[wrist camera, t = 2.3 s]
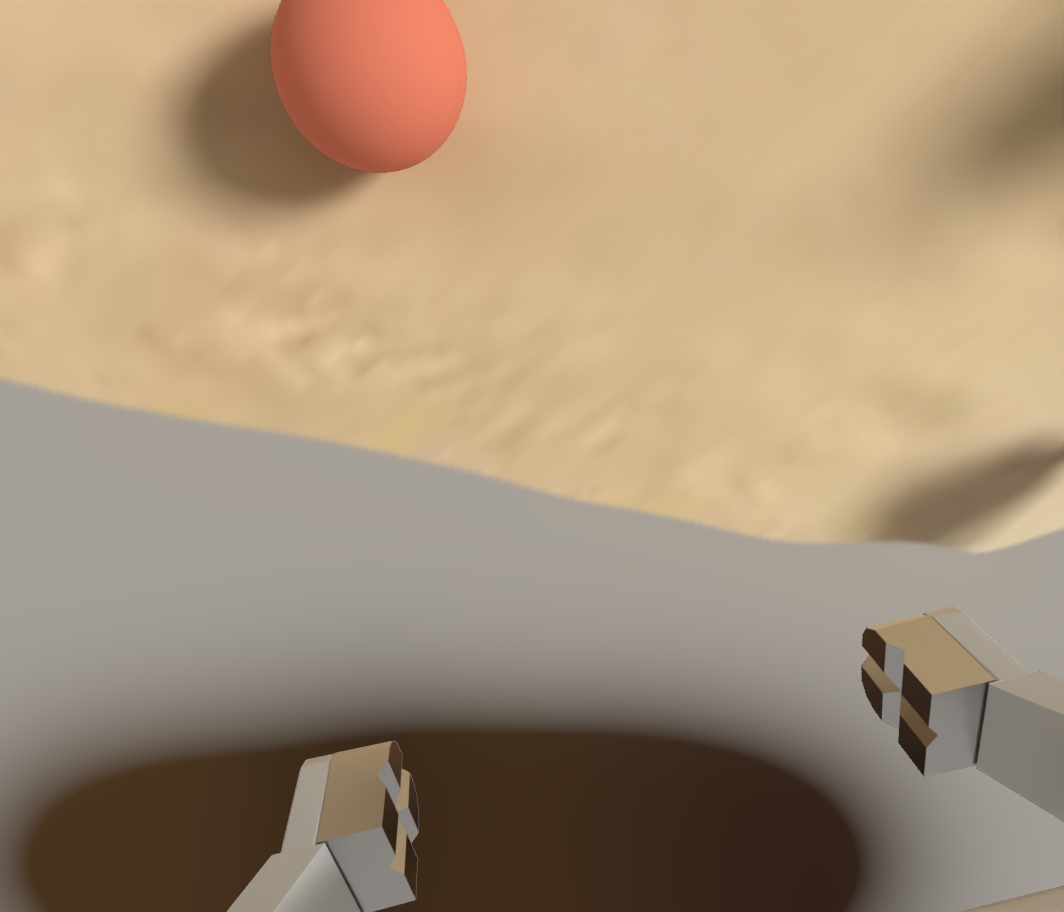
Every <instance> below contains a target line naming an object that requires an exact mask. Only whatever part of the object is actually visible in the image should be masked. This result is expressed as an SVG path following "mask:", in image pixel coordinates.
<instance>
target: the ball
mask: <svg viewBox="0 0 1064 912" xmlns="http://www.w3.org/2000/svg"><path fill="white" fill-rule="evenodd" d="M271 64H272V71H273V76H274V80H275V84H276V88H277V91H278V93H279V96H280V99H281V101H282V104H283V105H284V107H285V109H286V111H287V113H288V115H289V117H290V118H291V120H292V121H293V123H294V124H295V126H296V127H297V129H298V130H299V131H300V132H301V133H302V135H303V136H304V137H305V138H306V139H307V140H308V141H309V142H310V143H311V144H312V145H313V146H314V147H315V148H316V149H318V150H319V151H320V152H322V153H323V154H324V155H326V156H327V157H329V158H331V159H332V160H334V161H336V162H337V163H340V164H342V165H344V166H347V167H349V168H353V169H356V170H360V171H365V172H372V173H387V172H394V171H399V170H403V169H406V168H410V167H412V166H414V165H416V164H418V163H420V162H422V161H423V160H425V159H427V158H428V157H430V156H431V155H432V154H433V153H434V152H435V151H437V150H438V149H439V148H440V146H441V145H442V144H443V143H444V142H445V141H446V139H447V138H448V136H449V135H450V133H451V132H452V130H453V129H454V127H455V125H456V122H457V120H458V118H459V115H460V112H461V110H462V107H463V102H464V97H465V92H466V80H467V76H466V60H465V53H464V49H463V45H462V41H461V37H460V34H459V32H458V29H457V26H456V24H455V22H454V20H453V18H452V16H451V14H450V12H449V10H448V9H447V7H446V6H445V4H444V3H443V1H442V0H282V1H281V3H280V5H279V8H278V10H277V13H276V16H275V20H274V24H273V28H272V35H271Z"/></svg>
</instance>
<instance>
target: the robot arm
mask: <svg viewBox="0 0 1064 912" xmlns="http://www.w3.org/2000/svg"><path fill="white" fill-rule="evenodd" d="M862 637H863V638H862V646H863V647H864V649H865V650H866V651H867V652H868V654H869V656H868V657H867V658H866V660H865V661H864V662H863V664H862V665H861V671H862V672H861V674H862V683H863V686H864V690H865V693H866V696H867V698H868V700H869V702H870V704H871V706H872V708H873V709H874V711H875V712H876V713H877V715H878V716H879V718H880V719H881V720H882V721H883V722H885V723H887V724H889V725H891V726H893V727H895V728H897V729H899V738H898V743H899V744H900V745H901V747H902V748H903V750H904V751H905V752H906V754H907V755H908V756H909V758H910V759H911V760H912V762H913V763H914V764H915V766H916V767H917V768H918V770H919V771H920V772H921V773H922V775H923V776H924V777H925V776H929V775H934V774H939V773H944V772H948V771H953V770H958V769H963V768H967V767H972V766H977V767H976V769H978V770H980V771H981V772H983V773H985V774H986V775H988V776H990V777H991V778H993V779H994V780H996V781H998V782H999V783H1001V784H1003V785H1004V786H1006V787H1007V788H1009V789H1011V790H1012V791H1014V792H1016V793H1017V794H1019V795H1021V796H1022V797H1024V798H1026V799H1027V800H1029V801H1031V802H1032V803H1034V804H1035V805H1037V806H1039V807H1040V808H1042V809H1044V810H1045V811H1047V812H1049V813H1050V814H1052V815H1053V816H1055V817H1057V818H1058V819H1060V820H1062V821H1063V822H1064V680H1061V679H1058V678H1056V677H1054V676H1051V675H1048V674H1046V673H1043V672H1040V671H1038V672H1033V673H1030V672H1029V671H1028V670H1026V669H1025V668H1024V667H1023V666H1022V665H1021V664H1020V663H1019V662H1017V660H1016V659H1014V658H1013V657H1012V656H1011V655H1010V654H1009V653H1008V652H1007V651H1006V650H1004V649H1003V648H1002V647H1001V646H1000V645H999V644H998V643H997V642H996V641H994V640H993V639H992V638H991V637H990V636H989V635H988V634H987V633H986V632H985V631H983V630H982V629H981V628H980V627H979V626H978V625H977V624H976V623H975V622H973V621H972V620H971V619H970V618H969V617H968V616H967V615H965V613H963V612H962V611H961V610H960V609H957V608H955V607H949V608H945V609H941V610H937V611H932V612H929V613H924V614H923V615H916V616H912V617H908V618H904V619H900V620H896V621H892V622H888V623H884V624H879V625H876V626H871V627H868V628H866V629H865V631H864V633H863V636H862ZM418 832H419V812H418V801H417V794H416V790H415V786H414V782H413V780H412V777H411V775H410V773H408V772H407V771H405V770H403V769H402V753H401V751H400V749H399V747H398V745H397V742H395V741H390V742H385V743H381V744H376V745H371V746H366V747H362V748H357V749H352V750H347V751H343V752H338V753H335V754H331V755H326V756H322V757H317V758H313V759H307V760H306V761H305V762H304V764H303V766H302V768H301V769H300V773H299V777H298V781H297V785H296V790H295V794H294V798H293V803H292V807H291V811H290V815H289V820H288V824H287V828H286V833H285V837H284V842H283V846H282V850H281V853H279V854H275V855H272V856H271V857H270V858H269V859H268V861H267V862H266V863H265V864H264V866H263V867H262V868H261V870H260V871H259V872H258V873H257V874H256V876H255V877H254V878H253V879H252V881H251V882H250V883H249V885H248V886H247V887H246V888H245V889H244V891H243V892H242V893H241V894H240V896H239V897H238V898H237V900H236V901H235V902H234V903H233V905H232V906H231V907H230V908H229V910H228V911H227V912H373V911H376V910H380V909H384V908H388V907H391V906H395V905H399V904H402V903H406V902H409V901H413V900H416V883H417V882H416V881H417V860H418V859H417V856H416V854H415V852H414V849H413V847H412V844H411V843H412V842H413V840H414V839H415V837H416V835H417V834H418ZM959 912H1064V886H1060V887H1056V888H1052V889H1048V890H1044V891H1040V892H1036V893H1032V894H1028V895H1024V896H1020V897H1016V898H1011V899H1007V900H1003V901H999V902H995V903H992V904H988V905H983V906H979V907H975V908H971V909H967V910H963V911H959Z"/></svg>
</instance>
